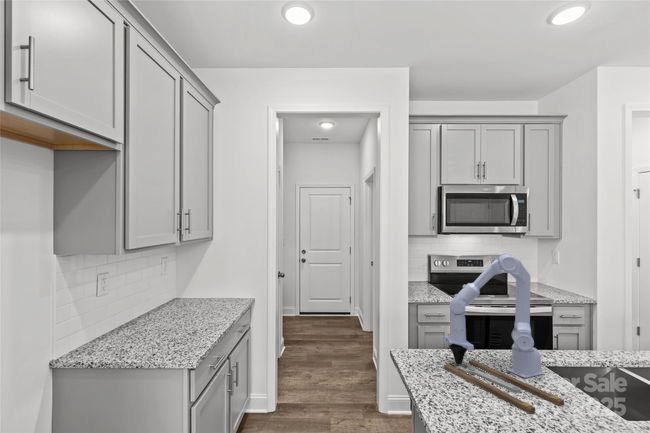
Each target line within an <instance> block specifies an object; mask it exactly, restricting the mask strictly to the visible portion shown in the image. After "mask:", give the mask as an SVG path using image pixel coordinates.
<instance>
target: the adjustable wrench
mask: <svg viewBox="0 0 650 433" xmlns="http://www.w3.org/2000/svg"><path fill="white" fill-rule="evenodd" d="M457 369H459V370H461V371H463V372H465V373H468V374H469V375H471V374H474V375H473V376H475V375H477V376H476V377H478V376H479V377H478V378H480V377H481V378H480V379H482V378H484V379H486V380H485V381H487V380H488V381H487V382H489V381H490V382H489V383H491V382H492V384H494V383H495V384H494V385H496V384H497V385H496V386H498V385H499V386H498V387H501V388H503V387H504V388H503V389H505V388H506V390H507V391H510V392H513V393H516V394H517V393H518V394H520V393H521V388H519V387H517V386H515V385H513V384H510V383H508V382H506V381H504V380H502V379H500V378H497V377H495V376H493V375H490V374H488V373H487V374H486V372H482V371H480V370H479V369H478V368H476V367H474V366H472V365H469V363H462V364H460V365H457ZM484 379H483V380H484Z"/></svg>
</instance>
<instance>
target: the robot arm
mask: <svg viewBox="0 0 650 433" xmlns="http://www.w3.org/2000/svg"><path fill="white" fill-rule="evenodd" d="M503 272H506V273H508V274H509V275H511V276H512V277H513V278H514V279H515V317H514V318H515V320H514V328H513V330H512V331H511V338H512V340H513V344H512V345H511V359H512V360H511V361H512V362H511V363H512V368H507V369H506V371H508V372H509V373H512V374H515V375H517V376H519V377H522V378H523V379H527V378H532V377H536V376H541V375H544V372H543V371H542V361H541V360H542V358H541V357H542V356H541V353H540V351H539V350H538V349H537V348H536V347H534V346H535V341H534V338H533V336H532V328H531V275H530V273H529V272H528V270H527V268H526V267H525V266H524V265H523V262H521V261H520V260H519V259H518V258H516V257H515V256H513V255H512V254H510V253H502V254H500V255H499V256H498V258H496V259H495V260H493V261H492V262H491V263H490V264H489V265H487V267H486V268H485V269H484V270H483V271H482V272H481V274H480V275H479V276H478V277H477V278H476V279H475V280H474V281H473V282H471V283H470V282H468V283H467V284H463V285H462V289H461V290H460V291H459V292H458V293H455V294H454V297H452V298H451V299H450V301H449V310H450V312H449V315H450V317H449V331H450V332H449V333H450V335H448V334H446V335H444V336H443V338H444V339H443V340H444V341H445V342H448V344H449V345H448V347H449V349H450V351H451V352H452V353H451V354H452V355H453V358H454V363H455V364H456V365H457V366H461V364H463V362H464V358H465V354H466V352H467V351H469V352H470V351H474V350H475V347H474V344H472V343H470V342H469V341H468V340H467V328H466V316H465V312H466V307H467V306H470V304H471V303H472V302H473V301H475V300H476V299H477V297H478V296H479V295H480V293H481V292H480V289H481V288H482V287H483V286H485V284H486V283H488V282H489V280H491V279H492V278H493V277H494V276H496V275H500V274H503Z"/></svg>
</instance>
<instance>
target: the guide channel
mask: <svg viewBox="0 0 650 433" xmlns="http://www.w3.org/2000/svg"><path fill="white" fill-rule="evenodd" d="M468 364H470V365H473V367H474V366H475V367H474V368H476V367H478V368H480V369H482V370H484V371H483V372H485V371H486V372H485V373H487V372H488V373H487V374H489V373H490V374H489V375H491V374H492V375H491V376H493V375H494V376H493V377H495V376H496V377H495V378H497V377H498V378H497V379H499V380H502V381H504V382H506V381H507V383H508V382H509V384H510V383H511V385H514V386H516V387H519V388H520V390H521V389H522V390H524V391H526V392H528V393H530V394H533V395H534V396H536V397H538V398H541V399H543V400H545V401H547V402H550V403H552V404H554V405H556V406H558V407H562V406H564V405H565V400H564V399H562V398H561V397H560V396H558V395H554V394H552V393H549V392H547V391H545V390H542V389H540V388H537V387H535V386H533V385H531V384H528V383H526V382H524V381H522V380H520V379H518V378H515V377H513V376H510V375H509V374H506V373H504V372H502V371H499V370H497V369H496V368H492V367H490V366H488V365H486V364H483V363H481V362H479V361H476V359H469V360H468ZM478 368H477V369H478ZM443 369H444V370H446V371H447V372H450V373H452V374H454V375H455V376H458V377H459V378H460V379H463V380H464V381H466V382H468V381H469V383H470V382H471V384H472V383H473V384H472V385H474V384H475V385H474V386H476V385H477V386H476V387H478V386H479V388H480V387H481V388H480V389H482V388H483V389H482V390H484V391H486V392H487V391H488V393H489V392H490V394H491V393H492V394H491V395H493V394H494V395H493V396H495V397H497V398H499V399H501V400H503V401H504V402H507V403H508V402H509V403H508V404H510V403H511V405H512V404H513V406H514V407H516V408H518V409H520V410H522V411H524V412H526V413H527V414H530V415H532V414H535V413H536V407H535V406H533V405H532V404H530V403H528V402H525V401H524V400H521V399H519V398H518V397H515V396H513V395H511V394H509V393H507V392H505V391H503V390H501V389H500V388H497V387H495V386H494V385H491V384H489V383H487V382H485V381H482V380H481V379H480V378H477V377H476V376H474V375H471V374H467V373H465V372H463V371H461V370H459V369H458V367H455V366H453V365H451V364H449V363H446V364H443ZM480 369H479V370H480ZM482 370H481V371H482Z"/></svg>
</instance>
